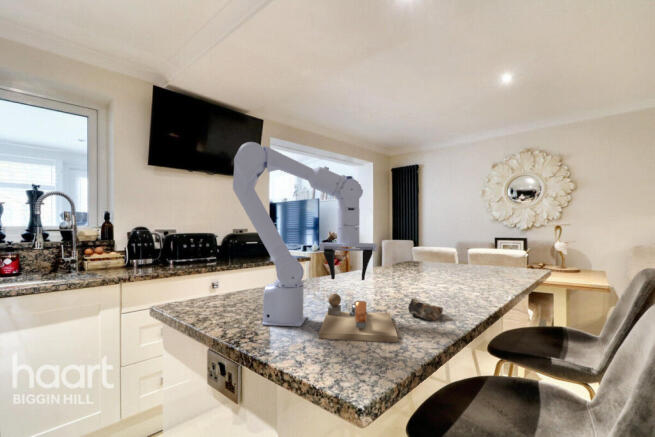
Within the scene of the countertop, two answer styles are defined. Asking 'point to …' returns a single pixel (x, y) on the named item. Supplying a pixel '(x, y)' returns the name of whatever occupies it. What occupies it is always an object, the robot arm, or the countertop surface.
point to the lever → (359, 313)
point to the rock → (424, 310)
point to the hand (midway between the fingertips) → (348, 279)
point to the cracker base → (345, 325)
